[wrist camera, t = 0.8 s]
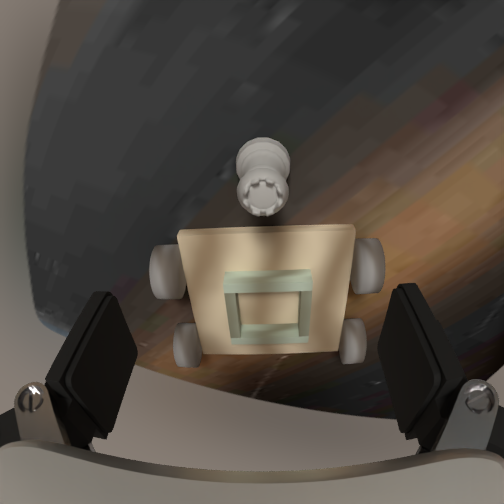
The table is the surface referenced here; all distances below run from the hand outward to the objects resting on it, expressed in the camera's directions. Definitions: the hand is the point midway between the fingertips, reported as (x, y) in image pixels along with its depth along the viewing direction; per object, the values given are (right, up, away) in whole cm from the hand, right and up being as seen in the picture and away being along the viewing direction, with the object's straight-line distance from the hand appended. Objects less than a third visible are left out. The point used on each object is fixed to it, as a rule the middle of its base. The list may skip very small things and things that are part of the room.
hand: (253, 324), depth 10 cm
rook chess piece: (+1, +10, +16) cm, 19 cm away
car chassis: (+2, -2, +23) cm, 23 cm away
